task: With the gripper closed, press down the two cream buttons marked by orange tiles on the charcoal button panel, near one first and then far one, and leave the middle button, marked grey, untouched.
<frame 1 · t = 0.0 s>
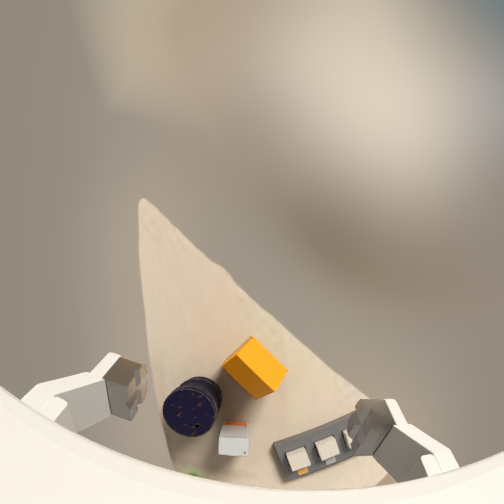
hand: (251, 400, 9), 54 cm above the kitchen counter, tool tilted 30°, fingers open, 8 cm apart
skincare box: (235, 428, 56), on the kitchen counter
orange juice: (252, 360, 61), on the kitchen counter
middle button: (327, 448, 51), point 4 cm above the kitchen counter, slide at 0.0 cm
button panel: (323, 444, 55), on the kitchen counter
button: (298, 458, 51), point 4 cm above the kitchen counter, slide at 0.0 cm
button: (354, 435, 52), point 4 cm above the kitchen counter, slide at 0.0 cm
dark blue cylinder: (200, 396, 58), on the kitchen counter
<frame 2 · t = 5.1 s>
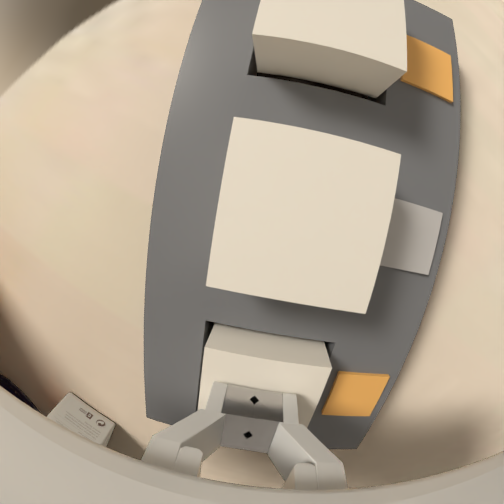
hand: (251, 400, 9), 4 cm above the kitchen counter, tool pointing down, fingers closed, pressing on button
skincare box: (88, 423, 16), on the kitchen counter
middle button: (300, 214, 8), point 4 cm above the kitchen counter, slide at 0.0 cm
button panel: (304, 210, 12), on the kitchen counter
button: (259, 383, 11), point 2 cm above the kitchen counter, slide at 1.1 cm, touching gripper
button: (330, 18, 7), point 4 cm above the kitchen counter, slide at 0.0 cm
dark blue cylinder: (22, 412, 18), on the kitchen counter
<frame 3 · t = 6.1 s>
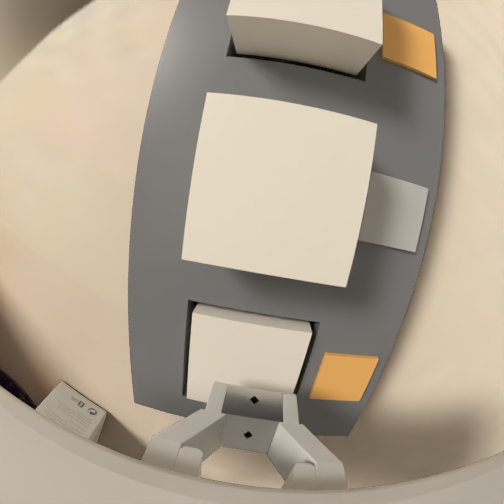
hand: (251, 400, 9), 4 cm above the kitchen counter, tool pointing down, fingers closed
skincare box: (81, 412, 16), on the kitchen counter
middle button: (278, 187, 8), point 4 cm above the kitchen counter, slide at 0.0 cm
button panel: (287, 189, 12), on the kitchen counter
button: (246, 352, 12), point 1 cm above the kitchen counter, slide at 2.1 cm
dark blue cylinder: (17, 404, 18), on the kitchen counter
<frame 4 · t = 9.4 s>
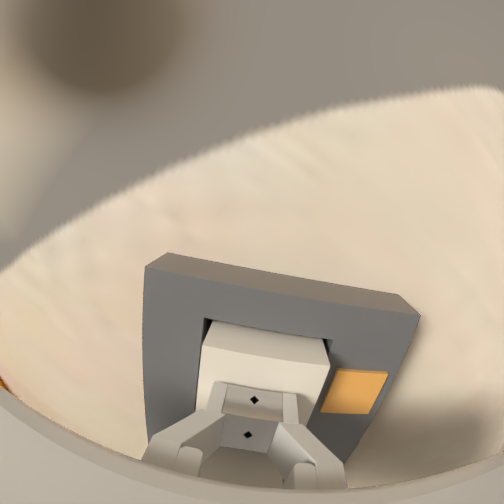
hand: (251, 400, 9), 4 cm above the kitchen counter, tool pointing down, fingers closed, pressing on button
middle button: (232, 482, 11), point 4 cm above the kitchen counter, slide at 0.0 cm
button panel: (246, 439, 15), on the kitchen counter
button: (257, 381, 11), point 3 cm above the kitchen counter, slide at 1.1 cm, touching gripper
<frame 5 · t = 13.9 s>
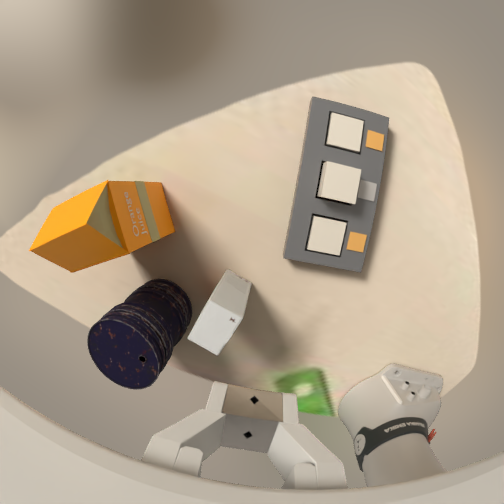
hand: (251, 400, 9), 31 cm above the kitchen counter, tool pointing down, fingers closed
skincare box: (229, 291, 42), on the kitchen counter
orange juice: (143, 215, 40), on the kitchen counter
middle button: (339, 183, 34), point 4 cm above the kitchen counter, slide at 0.0 cm
button panel: (336, 184, 37), on the kitchen counter
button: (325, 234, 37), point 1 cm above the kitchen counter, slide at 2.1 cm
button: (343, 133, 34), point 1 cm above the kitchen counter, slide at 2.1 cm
dark blue cylinder: (163, 307, 43), on the kitchen counter
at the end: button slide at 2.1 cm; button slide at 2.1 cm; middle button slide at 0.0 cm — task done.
